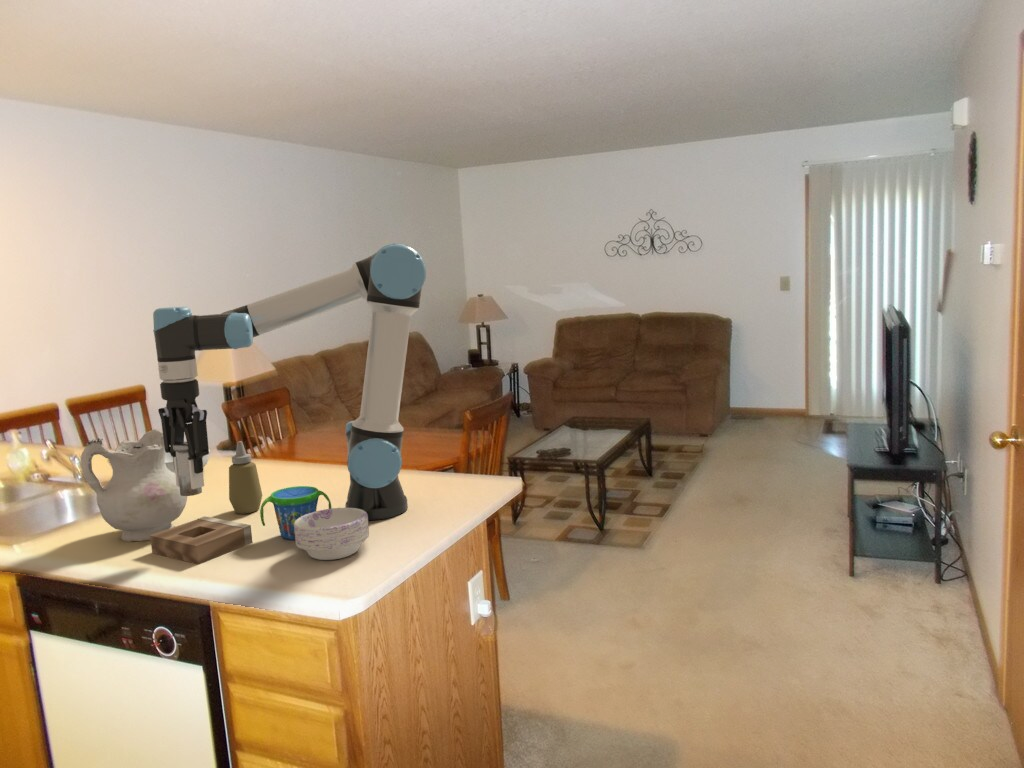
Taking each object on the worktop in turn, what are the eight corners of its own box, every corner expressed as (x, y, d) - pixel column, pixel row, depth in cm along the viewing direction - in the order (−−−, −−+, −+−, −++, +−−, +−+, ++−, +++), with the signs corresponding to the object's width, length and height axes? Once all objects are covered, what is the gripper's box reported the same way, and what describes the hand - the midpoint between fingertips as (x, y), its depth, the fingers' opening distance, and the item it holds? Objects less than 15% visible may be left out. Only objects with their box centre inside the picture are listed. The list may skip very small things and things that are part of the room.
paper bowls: (325, 537, 177) (322, 503, 176) (384, 543, 171) (381, 508, 170) (281, 562, 163) (277, 525, 162) (343, 569, 158) (340, 531, 156)
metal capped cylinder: (209, 491, 173) (203, 442, 171) (188, 497, 169) (182, 447, 167) (193, 488, 176) (188, 440, 174) (173, 495, 171) (167, 445, 170)
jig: (252, 542, 177) (250, 525, 176) (198, 564, 165) (196, 545, 164) (206, 533, 185) (204, 516, 184) (152, 553, 173) (149, 535, 173)
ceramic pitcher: (125, 560, 173) (117, 449, 169) (71, 542, 182) (62, 437, 178) (206, 529, 192) (201, 429, 187) (154, 515, 201) (147, 419, 196)
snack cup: (333, 523, 187) (329, 482, 185) (333, 538, 177) (329, 494, 175) (264, 532, 184) (260, 489, 182) (261, 547, 173) (256, 502, 172)
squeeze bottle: (254, 515, 196) (246, 445, 194) (224, 515, 198) (216, 445, 195) (269, 506, 204) (262, 437, 202) (241, 506, 206) (233, 438, 203)
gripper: (138, 380, 170) (150, 486, 173) (189, 384, 161) (201, 495, 164) (169, 376, 176) (180, 477, 180) (220, 378, 167) (231, 486, 171)
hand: (190, 485), depth 172 cm, fingers closed on metal capped cylinder, 4 cm apart
